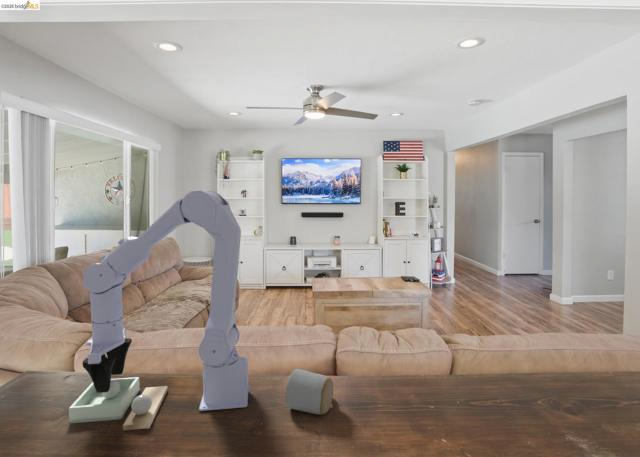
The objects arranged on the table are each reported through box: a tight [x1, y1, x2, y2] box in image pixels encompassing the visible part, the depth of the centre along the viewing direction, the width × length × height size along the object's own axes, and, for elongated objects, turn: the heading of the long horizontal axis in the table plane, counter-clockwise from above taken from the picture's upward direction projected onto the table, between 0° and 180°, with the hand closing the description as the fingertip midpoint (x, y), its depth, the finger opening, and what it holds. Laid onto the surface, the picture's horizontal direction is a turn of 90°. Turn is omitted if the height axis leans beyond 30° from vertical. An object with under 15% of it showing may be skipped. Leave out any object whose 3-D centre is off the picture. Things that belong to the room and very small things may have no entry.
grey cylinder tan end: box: [284, 368, 334, 415], centre depth 78 cm, size 11×8×8 cm
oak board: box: [122, 385, 169, 431], centre depth 77 cm, size 5×14×1 cm, turn 9°
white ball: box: [101, 380, 120, 399], centre depth 80 cm, size 4×4×4 cm
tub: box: [68, 376, 141, 424], centre depth 78 cm, size 9×11×3 cm
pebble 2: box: [130, 393, 152, 415], centre depth 73 cm, size 4×4×4 cm
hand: (110, 382), depth 79 cm, fingers open, 7 cm apart
